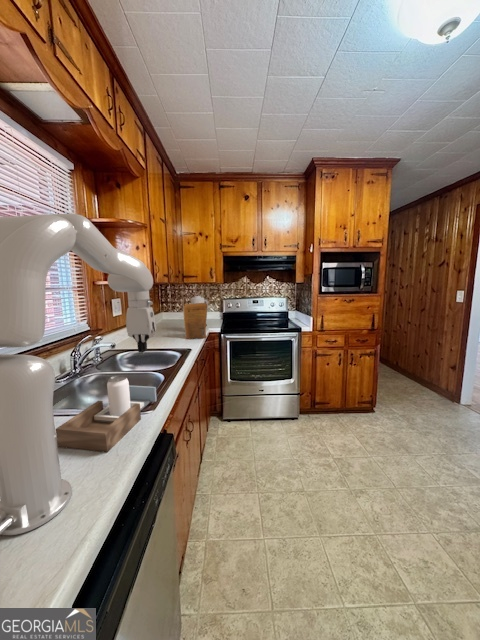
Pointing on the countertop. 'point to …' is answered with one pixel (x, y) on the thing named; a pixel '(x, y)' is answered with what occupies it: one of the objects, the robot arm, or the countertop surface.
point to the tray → (137, 395)
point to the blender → (198, 301)
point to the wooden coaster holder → (96, 429)
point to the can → (118, 395)
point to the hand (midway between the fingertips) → (142, 351)
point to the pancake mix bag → (195, 320)
